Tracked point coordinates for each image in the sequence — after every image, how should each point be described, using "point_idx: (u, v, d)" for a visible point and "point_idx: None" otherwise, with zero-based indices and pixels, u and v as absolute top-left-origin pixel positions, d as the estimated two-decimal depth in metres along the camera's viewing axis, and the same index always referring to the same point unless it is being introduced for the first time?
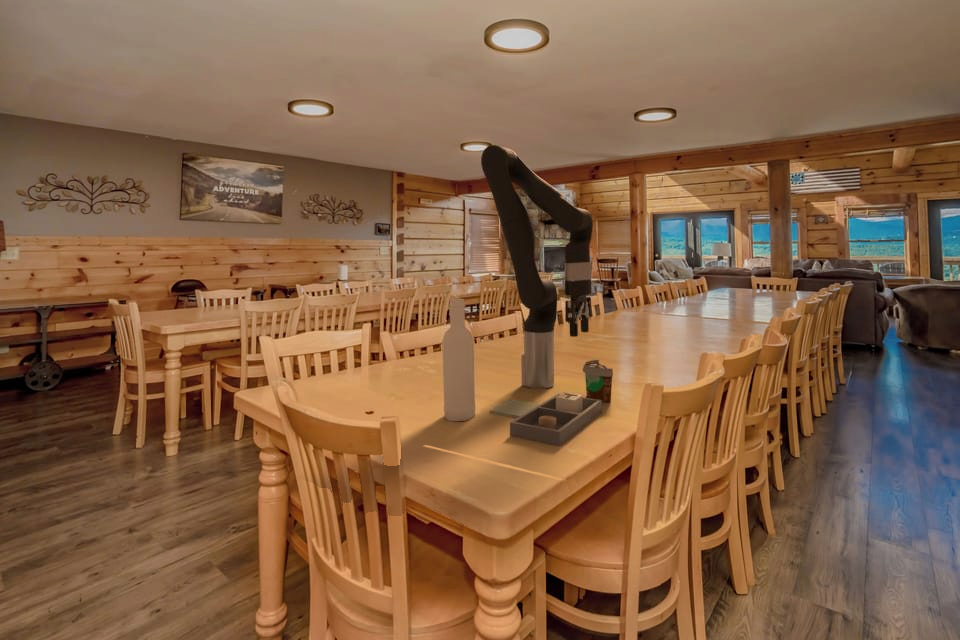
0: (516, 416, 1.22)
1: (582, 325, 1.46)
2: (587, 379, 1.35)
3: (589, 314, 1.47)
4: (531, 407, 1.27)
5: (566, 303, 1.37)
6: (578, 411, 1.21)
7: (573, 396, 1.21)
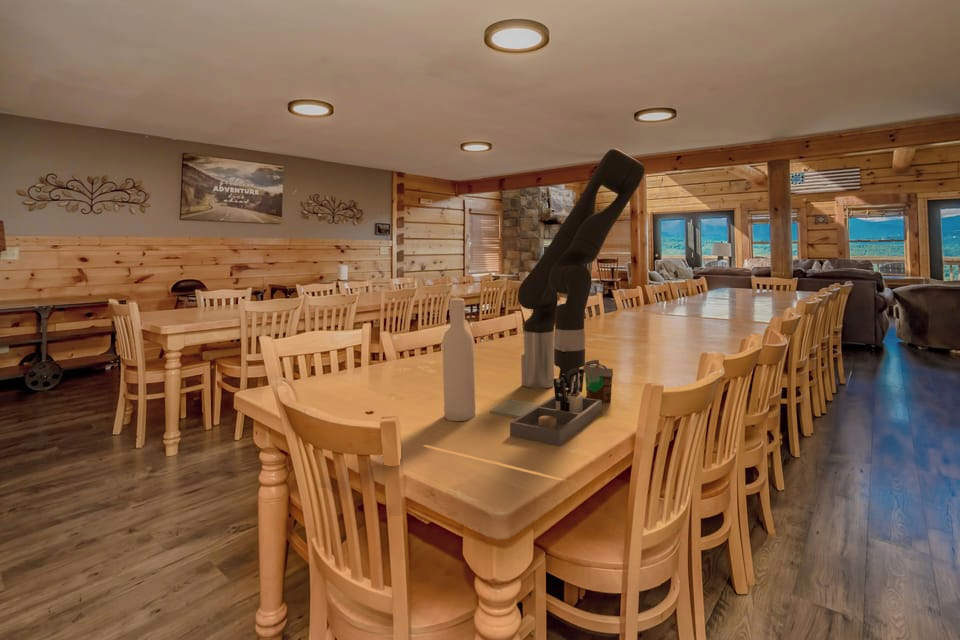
0: (516, 416, 1.22)
1: None
2: (587, 379, 1.35)
3: (579, 389, 1.25)
4: (531, 407, 1.27)
5: (554, 382, 1.16)
6: (578, 411, 1.21)
7: (573, 396, 1.21)
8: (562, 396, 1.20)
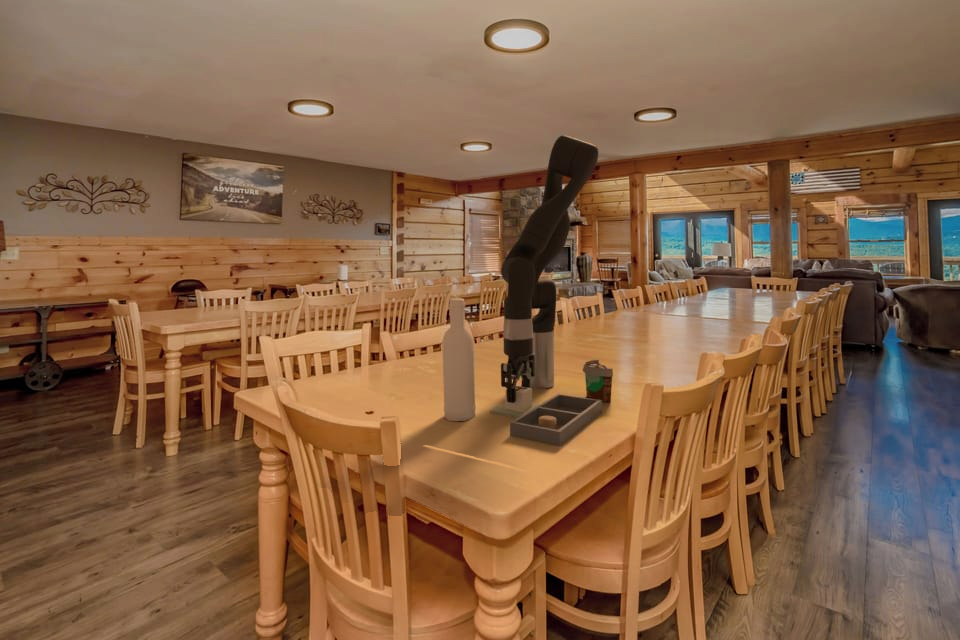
0: (516, 416, 1.22)
1: None
2: (587, 379, 1.35)
3: (531, 374, 1.30)
4: (531, 407, 1.27)
5: (502, 366, 1.21)
6: (527, 403, 1.26)
7: (522, 389, 1.26)
8: None
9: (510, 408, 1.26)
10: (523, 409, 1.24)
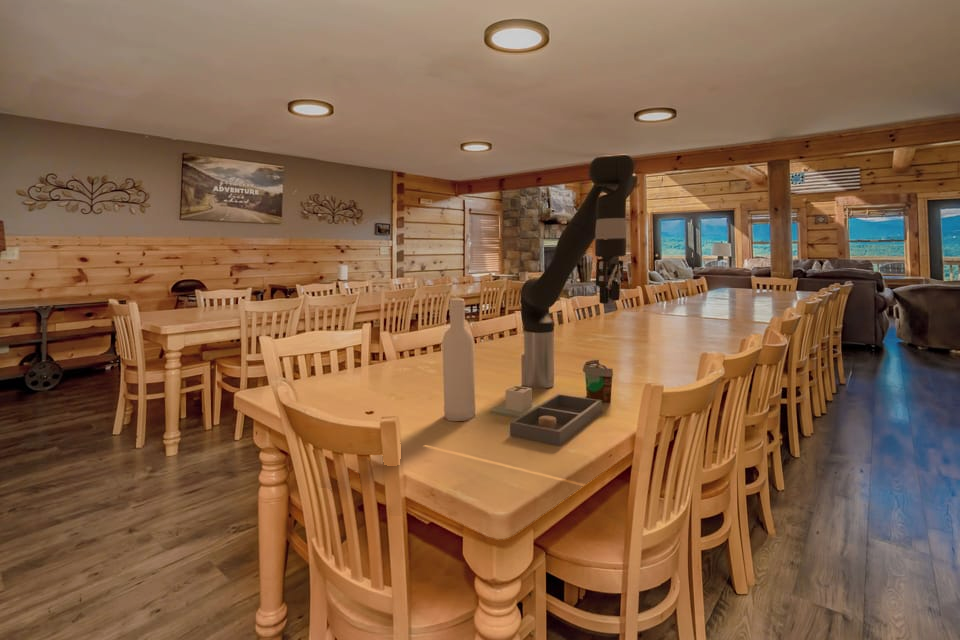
0: (516, 416, 1.22)
1: (612, 292, 1.28)
2: (587, 379, 1.35)
3: (620, 280, 1.29)
4: (531, 407, 1.27)
5: (597, 264, 1.19)
6: (527, 403, 1.26)
7: (522, 389, 1.26)
8: None
9: (510, 408, 1.26)
10: (523, 409, 1.24)
